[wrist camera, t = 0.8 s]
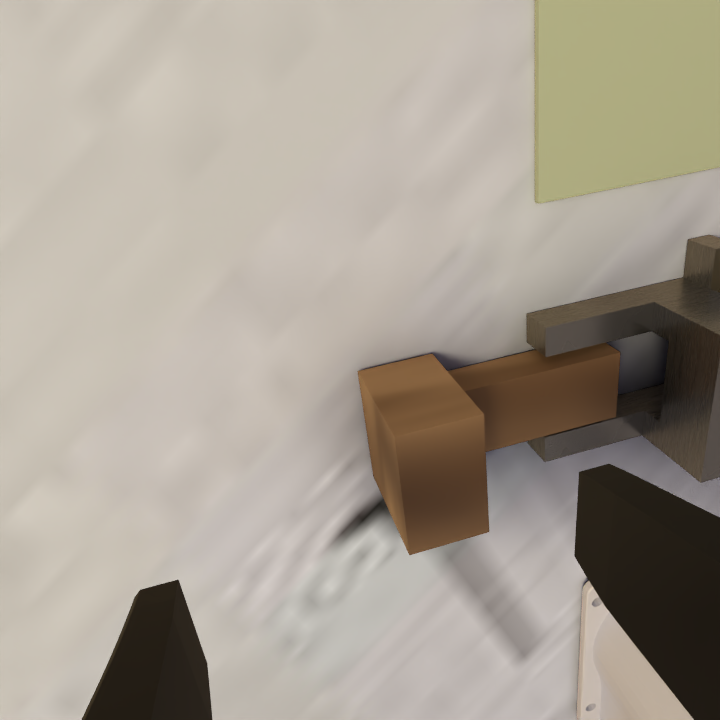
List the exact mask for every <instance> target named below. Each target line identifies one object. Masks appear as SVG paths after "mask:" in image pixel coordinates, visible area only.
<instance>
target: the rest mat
mask: <svg viewBox="0 0 720 720" xmlns="http://www.w3.org/2000/svg"><path fill="white" fill-rule="evenodd" d="M718 167H720V0H535V202H536V203H538V204H539V203H544V202H549V201H554V200H559V199H564V198H569V197H574V196H579V195H584V194H589V193H594V192H599V191H604V190H609V189H614V188H619V187H624V186H629V185H633V184H638V183H643V182H648V181H653V180H658V179H663V178H668V177H673V176H678V175H683V174H688V173H693V172H698V171H703V170H708V169H713V168H718Z"/></svg>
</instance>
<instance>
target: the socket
mask: <svg viewBox="0 0 720 720" xmlns="http://www.w3.org/2000/svg"><path fill="white" fill-rule="evenodd" d="M650 331H652V332H654V333H656V334H658V335H659V336H661V337H663V338H665V339H666V340H668V341H669V345H668V354H667V363H666V372H665V382H664V384H660V385H656V386H653V387H649V388H645V389H641V390H637V391H634V392H630V393H626V394H622V395H618V396H617V409H616V417H614V418H610V419H607V420H603V421H599V422H595V423H592V424H588V425H584V426H580V427H577V428H573V429H569V430H566V431H562V432H558V433H554V434H551V435H547V436H543V437H540V438H536V439H532V440H528V444H529V445H530V446H531V447H532V448H533V450H534V451H535V452H536V453H537V454H538V455H539V456H540V457H541V458H542V459H543V461H544V462H547V461H550V460H554V459H557V458H561V457H565V456H568V455H572V454H575V453H579V452H583V451H586V450H590V449H594V448H597V447H601V446H604V445H608V444H612V443H615V442H619V441H623V440H626V439H630V438H633V437H637V436H641V435H642V436H644V437H645V438H646V439H647V440H649V441H650V442H651V443H652V444H654V445H655V446H656V447H657V448H659V449H660V450H661V451H662V452H663V453H665V454H666V455H667V456H668V457H670V458H671V459H672V460H673V461H675V462H676V463H677V464H678V465H680V466H681V467H682V468H683V469H684V470H686V471H687V472H688V473H689V474H691V475H692V476H693V477H694V478H696V479H697V480H698V481H699V482H704V481H708V480H711V479H715V478H718V477H720V238H718V237H715V236H712V235H706V236H702V237H697V238H693V239H688V244H687V253H686V261H685V270H684V277H683V278H679V279H675V280H670V281H666V282H662V283H657V284H653V285H649V286H644V287H640V288H636V289H632V290H627V291H623V292H619V293H614V294H610V295H606V296H601V297H597V298H593V299H589V300H584V301H580V302H576V303H571V304H567V305H563V306H558V307H554V308H550V309H545V310H541V311H537V312H533V313H528V314H527V343H529V344H530V345H531V346H532V347H534V348H535V349H536V350H537V351H538V352H540V353H541V354H542V355H543V356H545V357H549V356H553V355H557V354H561V353H565V352H569V351H573V350H577V349H581V348H585V347H589V346H593V345H597V344H601V343H605V342H610V341H614V340H618V339H622V338H626V337H630V336H634V335H638V334H642V333H646V332H650Z"/></svg>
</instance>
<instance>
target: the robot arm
mask: <svg viewBox="0 0 720 720" xmlns="http://www.w3.org/2000/svg"><path fill="white" fill-rule="evenodd" d="M575 557H576V559H577V561H578V563H579V564H580V566H581V568H582V569H583V571H584V573H585V575H586V576H587V578H588V580H589V581H588V582H586V584H585V585H584V587H583V590H582V611H581V632H580V653H579V674H578V695H577V720H720V517H718V516H715V515H713V514H711V513H709V512H707V511H705V510H703V509H701V508H699V507H697V506H695V505H693V504H691V503H689V502H687V501H685V500H683V499H681V498H679V497H677V496H675V495H673V494H671V493H669V492H667V491H665V490H663V489H661V488H659V487H657V486H655V485H653V484H651V483H649V482H647V481H645V480H643V479H641V478H639V477H637V476H635V475H633V474H630V473H628V472H626V471H624V470H622V469H620V468H618V467H615V466H613V465H611V464H607V465H603V466H599V467H596V468H592V469H588V470H584V471H581V472H579V485H578V503H577V521H576V539H575ZM82 720H212V711H211V699H210V689H209V678H208V668H207V662H206V659H205V656H204V653H203V650H202V647H201V644H200V641H199V638H198V636H197V633H196V630H195V627H194V624H193V621H192V618H191V615H190V612H189V609H188V606H187V603H186V600H185V598H184V595H183V592H182V589H181V586H180V583H179V580H175V581H172V582H168V583H164V584H160V585H157V586H153V587H149V588H146V589H142V590H140V591H139V592H138V594H137V595H136V596H135V598H134V601H133V603H132V606H131V609H130V611H129V614H128V616H127V619H126V621H125V624H124V626H123V629H122V631H121V634H120V636H119V639H118V641H117V643H116V646H115V648H114V650H113V653H112V655H111V657H110V660H109V662H108V664H107V666H106V669H105V671H104V673H103V675H102V678H101V680H100V682H99V684H98V686H97V688H96V690H95V692H94V695H93V697H92V699H91V701H90V703H89V705H88V707H87V709H86V712H85V714H84V716H83V718H82Z"/></svg>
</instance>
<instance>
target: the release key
mask: <svg viewBox="0 0 720 720" xmlns="http://www.w3.org/2000/svg"><path fill="white" fill-rule="evenodd" d="M619 366H620V352H619V351H618V350H616V349H614V348H613V347H611V346H610V345H608V344H607V343H601V344H597V345H593V346H589V347H585V348H581V349H577V350H573V351H569V352H565V353H561V354H557V355H553V356H549V357H545V356H543V355H542V354H541V353H540V352H538V351H537V350H532V351H528V352H524V353H520V354H516V355H512V356H508V357H504V358H500V359H495V360H491V361H487V362H483V363H479V364H475V365H471V366H467V367H462V368H458V369H454V370H450V371H447V370H446V369H445V368H444V367H443V366H442V365H441V363H440V362H439V361H438V360H437V359H436V358H435V356H434V355H433V354H428V355H424V356H420V357H416V358H412V359H407V360H403V361H399V362H395V363H390V364H386V365H382V366H378V367H374V368H369V369H365V370H361V371H358V377H359V383H360V390H361V397H362V403H363V410H364V417H365V423H366V430H367V437H368V443H369V450H370V457H371V463H372V470H373V476H374V479H375V481H376V483H377V485H378V487H379V489H380V492H381V494H382V496H383V498H384V500H385V503H386V505H387V507H388V509H389V511H390V514H391V516H392V518H393V520H394V522H395V524H396V527H397V529H398V531H399V533H400V535H401V538H402V540H403V542H404V544H405V546H406V549H407V551H408V553H409V555H412V554H415V553H419V552H422V551H425V550H429V549H432V548H436V547H439V546H442V545H446V544H449V543H453V542H456V541H460V540H463V539H466V538H470V537H473V536H477V535H480V534H484V533H487V532H489V517H488V495H487V473H486V452H487V451H491V450H495V449H499V448H502V447H506V446H510V445H514V444H517V443H521V442H525V441H528V440H532V439H536V438H540V437H543V436H547V435H551V434H554V433H558V432H562V431H566V430H569V429H573V428H577V427H580V426H584V425H588V424H592V423H595V422H599V421H603V420H607V419H610V418H614V417H616V409H617V395H618V380H619Z"/></svg>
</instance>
